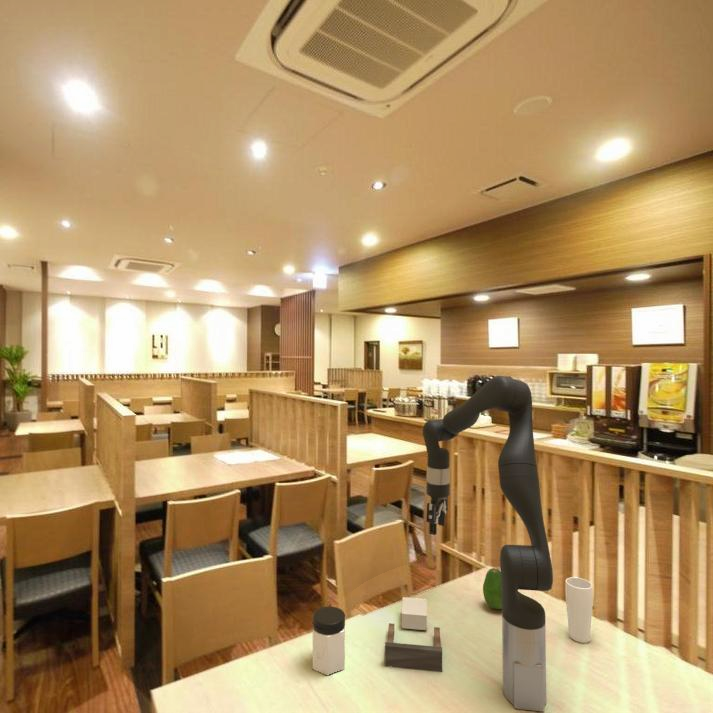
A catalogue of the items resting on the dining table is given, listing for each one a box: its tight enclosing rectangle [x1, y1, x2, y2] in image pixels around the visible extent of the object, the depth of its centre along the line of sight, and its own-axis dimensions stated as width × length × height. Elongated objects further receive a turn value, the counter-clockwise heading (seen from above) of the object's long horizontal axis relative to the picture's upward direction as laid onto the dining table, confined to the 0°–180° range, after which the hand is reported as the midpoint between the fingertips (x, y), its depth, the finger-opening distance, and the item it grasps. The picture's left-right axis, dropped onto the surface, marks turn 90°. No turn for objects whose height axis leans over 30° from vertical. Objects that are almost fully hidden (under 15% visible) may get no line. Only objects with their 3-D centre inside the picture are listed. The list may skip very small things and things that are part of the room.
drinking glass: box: [564, 576, 594, 644], centre depth 120 cm, size 7×7×15 cm
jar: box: [312, 606, 346, 676], centre depth 109 cm, size 9×8×12 cm
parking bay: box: [384, 623, 443, 673], centre depth 114 cm, size 14×14×5 cm
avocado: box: [482, 567, 502, 610], centre depth 134 cm, size 8×8×12 cm
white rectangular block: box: [401, 596, 428, 631], centre depth 127 cm, size 9×7×5 cm
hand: (437, 529), depth 143 cm, fingers open, 8 cm apart
